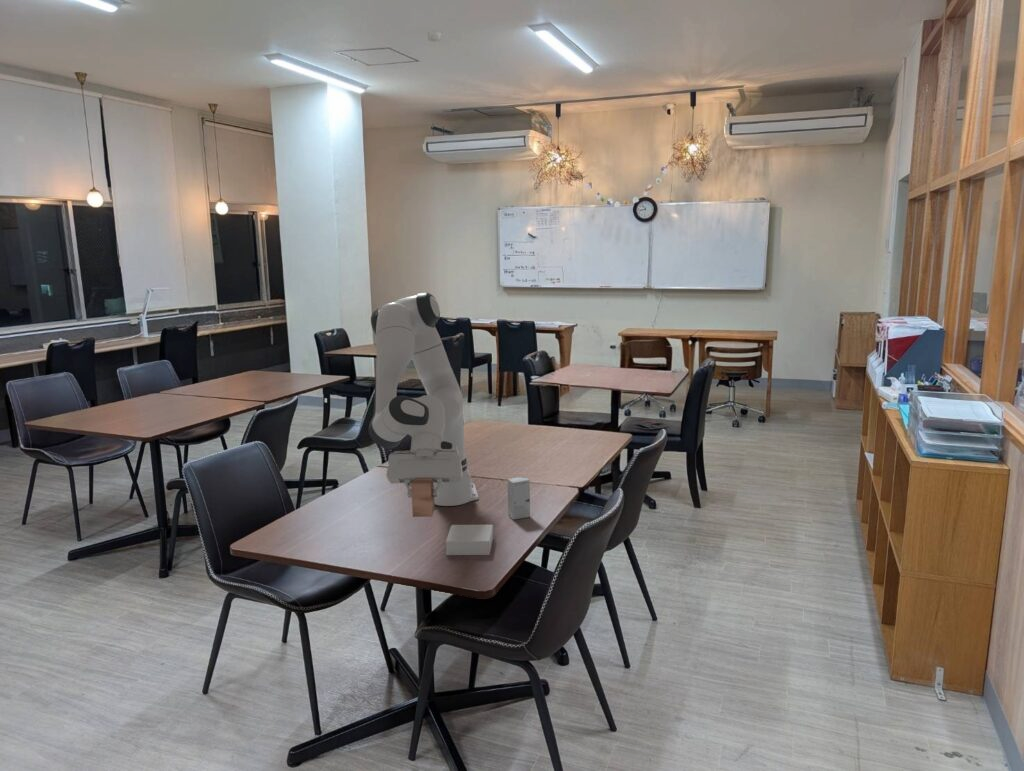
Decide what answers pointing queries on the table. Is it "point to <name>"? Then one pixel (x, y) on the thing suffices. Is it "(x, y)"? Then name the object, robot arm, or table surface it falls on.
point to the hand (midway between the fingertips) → (422, 496)
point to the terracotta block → (422, 497)
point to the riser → (469, 540)
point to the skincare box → (518, 498)
